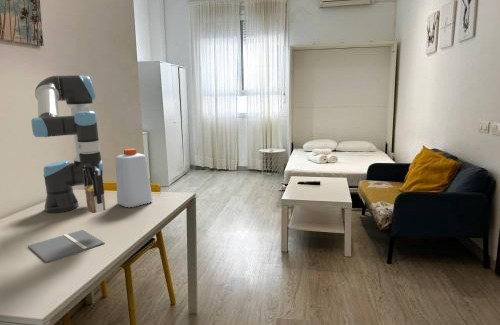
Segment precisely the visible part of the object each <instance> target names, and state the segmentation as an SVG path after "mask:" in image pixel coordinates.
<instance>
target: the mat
mask: <svg viewBox="0 0 500 325" xmlns="http://www.w3.org/2000/svg"><path fill="white" fill-rule="evenodd" d="M102 245H105V242H104V241H103V240H101V239H99V238H97V237H96V236H94V235H92V234H91V233H89V232H88V231H86V230H83V229H80V230H78V231H74V232H70V233H64V234H62V235H60V236H57V237H53V238H50V239H46V240H42V241H38V242H35V243H32V244H28V245H27V246H28V248H29V249H30V250H31V251H32V252H34V253H35V254H36V255H37V256H38V257H39V258H40V259H41V260H42V259H43V260H42V261H44V262H45V263H50V262H53V261H56V260H60V259H63V258H66V257H68V256H72V255H75V254H78V253H81V252H84V251H86V250H90V249H93V248H96V247H99V246H102Z"/></svg>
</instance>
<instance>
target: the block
mask: <svg viewBox="0 0 500 325" xmlns="http://www.w3.org/2000/svg"><path fill="white" fill-rule="evenodd" d="M84 190H85V191H84V192H85V198H86V207H87V212H90V213H91V214H97V212H96V209H95V201H94V196H93V195H95V193H94V188H93V185H89V186H85V187H84ZM105 200H106V199H105V193H104V194H102V203H103V211H106V210H107V209H106V203H105V202H106V201H105ZM103 211H102V212H103ZM100 212H101V211H99V212H98V213H100Z"/></svg>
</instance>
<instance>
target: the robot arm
mask: <svg viewBox="0 0 500 325" xmlns="http://www.w3.org/2000/svg"><path fill="white" fill-rule="evenodd" d="M34 96H35V99H36V100H37V117H33V118H31V120H30V121H31V122H30V123H31V130H32V134H33V136H34V137H36V138H49V137H61V136H72V135H73V136H74V145H75V153H76V156H75V157H74V159H73V162H70V161H69V160H58V161H55V162H51V163H48V164H46V165H45V166H44V167H43V177H44V184H45V192H46V198H45V203H44V211H45V212H46V213H49V214H51V213H52V214H54V213H55V214H56V213H63V212H64V213H65V212H69V211H71V210H75V209H76V208H78V207H79V201H78V198H77V196H76V194H75V192H74V190H73V187H77V186H83V185H84V188H85V186H89V185H93V188H94V193H95V195H93V196H94V201H95V209H96V213H100V212H103V203H102V194H104V195H105V188H104V180H103V176H104V175H103V172H104V168H103V165H104V164H103V160H102V155H101V152H100V151H101V146H100V145H101V144H100V138H99V131H98V130H99V129H98V119H97V114H96V112H95V111H93V110H91V108H90V107H91V106H92V105H93V102H94V101H95V100H96V94H95V88H94V85H93V82H92V79H91V77H90V76H88V75H82V74H80V75H79V74H78V75H52V76H51V75H50V76H48V77H46V78H44V79H43V80H41V81H40V82H39V83H38V84H37V85H36V87H35V90H34ZM59 101H60V102H61V101H63V102H65V103H66V106H68V108H70V113H71V114H70V115H64V116H63V115H62V116H60V110H59V104H58V103H59ZM99 211H100V212H99Z"/></svg>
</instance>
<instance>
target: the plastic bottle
mask: <svg viewBox="0 0 500 325" xmlns="http://www.w3.org/2000/svg"><path fill="white" fill-rule="evenodd" d="M115 174H116V176H115V177H116V179H115V180H116V182H115V184H116V203H117V204H118V205H120V206H123V208H124V207H125V208H127V207H128V208H129V209H131V208H130V207H132V208H136V206H137V207H140V206H139V205H141V206H144V205H143V204H145V205H147V203H148V204H151V203H152V202H153V194H152V189H151V181H150V174H149V169H148V163H147V158H146V155H145V154H143V153H139V152H137V149H136V148H125V149H123V154H119V155H116V157H115ZM150 202H151V203H150Z"/></svg>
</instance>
